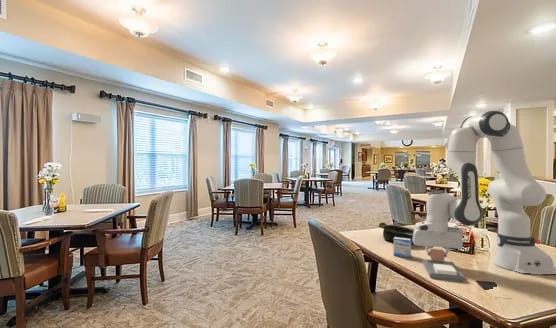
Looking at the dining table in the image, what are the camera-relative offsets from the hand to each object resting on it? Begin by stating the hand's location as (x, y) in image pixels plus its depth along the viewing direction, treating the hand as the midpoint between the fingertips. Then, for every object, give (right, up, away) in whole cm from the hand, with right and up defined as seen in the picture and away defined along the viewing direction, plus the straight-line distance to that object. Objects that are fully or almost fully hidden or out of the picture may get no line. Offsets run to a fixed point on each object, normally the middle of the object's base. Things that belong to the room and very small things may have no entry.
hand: (436, 256), depth 131 cm
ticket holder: (-3, -4, -10) cm, 11 cm away
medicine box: (-11, -4, +11) cm, 16 cm away
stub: (0, -1, 0) cm, 1 cm away
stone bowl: (0, -3, +38) cm, 38 cm away
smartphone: (+6, -4, -26) cm, 27 cm away
